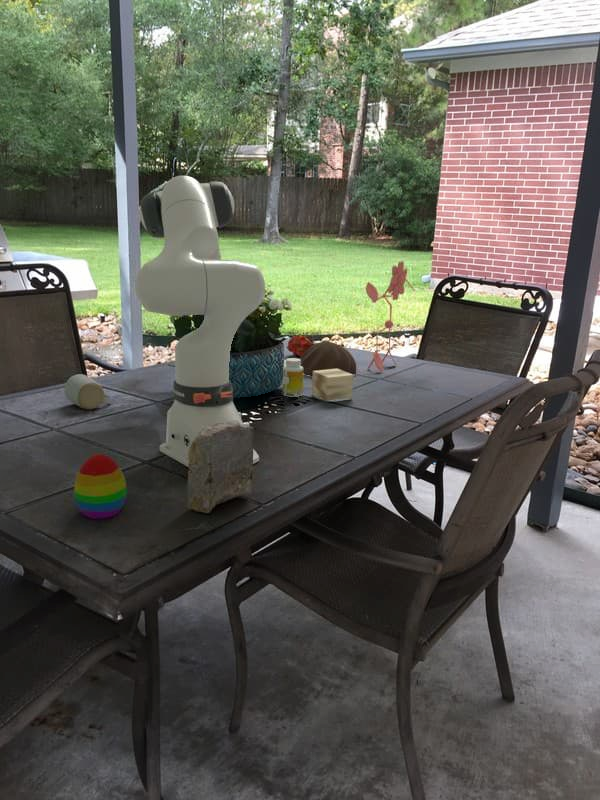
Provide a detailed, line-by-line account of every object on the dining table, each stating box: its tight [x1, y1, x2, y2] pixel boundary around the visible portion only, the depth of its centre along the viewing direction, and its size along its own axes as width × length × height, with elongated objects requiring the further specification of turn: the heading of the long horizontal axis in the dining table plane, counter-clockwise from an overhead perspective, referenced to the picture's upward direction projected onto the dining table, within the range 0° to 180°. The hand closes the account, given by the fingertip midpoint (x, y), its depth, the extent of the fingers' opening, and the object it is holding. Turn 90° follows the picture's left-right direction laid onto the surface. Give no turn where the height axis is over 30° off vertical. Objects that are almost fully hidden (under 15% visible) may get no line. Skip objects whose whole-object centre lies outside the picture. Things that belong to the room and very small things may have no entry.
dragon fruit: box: [286, 334, 315, 358], centre depth 230 cm, size 8×8×12 cm
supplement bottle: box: [282, 357, 304, 398], centre depth 181 cm, size 6×6×10 cm
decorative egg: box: [73, 453, 127, 520], centre depth 108 cm, size 8×8×10 cm
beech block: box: [311, 369, 354, 401], centre depth 180 cm, size 8×8×7 cm
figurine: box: [365, 260, 416, 373], centre depth 211 cm, size 15×26×35 cm, turn 147°
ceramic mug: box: [63, 373, 114, 410], centre depth 166 cm, size 11×8×8 cm
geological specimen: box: [187, 420, 255, 514], centre depth 111 cm, size 11×6×15 cm, turn 141°
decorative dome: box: [298, 340, 357, 376], centre depth 209 cm, size 19×20×10 cm
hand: (295, 376), depth 180 cm, fingers open, 8 cm apart
